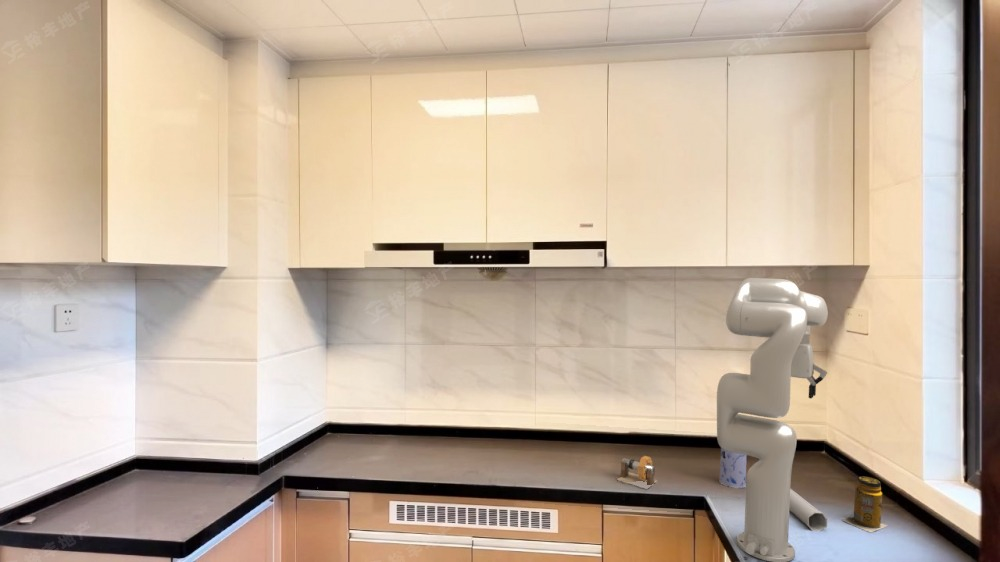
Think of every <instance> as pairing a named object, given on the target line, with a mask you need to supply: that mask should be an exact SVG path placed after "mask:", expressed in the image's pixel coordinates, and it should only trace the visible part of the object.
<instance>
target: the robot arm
mask: <svg viewBox="0 0 1000 562" xmlns="http://www.w3.org/2000/svg"><path fill="white" fill-rule="evenodd" d="M828 315H829V311H828V305H827V303H826V301H825V299H824V297H821V296H819V295H816V294H812V293H809V292H805V291H801V290H800V289H799V287H798V286H797V284H796V283H795V282H793V281H791V280H789V279H785V278H784V279H783V278H769V277H768V278H766V277H763V278H762V277H748V278H745V279H743V280H742V281H741V282H740V283H739V284H738V286H737V288H736V289H735V292H734V293H733V295H732V298H731V301H730V302H729V305H728V307H727V310H726V313H725V324H726V327H727V329H728V330H729V332H731V333H732V334H734V335H738V336H748V337H757V338H767V340H765V341H764V342H763V343H762V344H760V346H758V347H757V348H756V349H755V350H754V352H752V354H751V356H750V359H749V361H750V366H749V367H750V370H749V372H750V373H749V374H747V373H739V372H728V373H724V374H723V375H722V376H721V377H720V379H719V381H718V384H717V391H716V439H717V444H718V445H719V447H720V449H721V448H723V449H724V450H727V451H730V452H734V453H739V454H744V455H747V456H749V457H752V458H756V459H758V461H756V462H755V463H754V464H752V465H751V466H750V468H749V469H748V470H747V471H746V487H745V504H744V505H745V509H744V529H743V530H744V531H743V532H741V533H739V534H738V535H737V536H736V537H737V538H736V543H737V546H738V547H739V548H740V549H741V550H742V551H743V552H744V553H746V554H749V555H750V556H752V557H754V558H756V559H760V560H762V561H767V562H791V561H792V560H794V558H795V557H796V549H795V547H794V546H793V545H792V544H791V542H789V531H790V530H789V527H790V523H789V522H790V510H789V507H790V488H791V483H792V482H791V481H792V479H791V478H792V470H793V462H794V458H795V453H796V448H797V440H798V437H797V433H796V431H795V429H794V428H793V427H792V426H791V425H790V424H787V422H786V423H785V422H783V421H781V420H776V419H777V418H779V419H781V418H784V417H785V416H787V414H788V413H789V410H790V406H791V405H790V404H791V379H792V378H797V379H798V378H799V379H806V380H807V381H808V382H809V383H810V384H809V386H808V398H809V399H813V398H814V397H815V396H816V393H817V391H816V390H817V385H818V384H819V383H820V382H822V381H823V380H824V378H825V377H826V376H827V374H828V372H827V370H825V369H823V368H821V367H819V366H818V365H816V364H814V363H815V361H814V359H815V358H814V351H813V345H812V344H810V341H811V340H810V337H811V327H823V326H824V325H825V324H826V322H827V320H828ZM815 372H817V373H819V375H818V377H817V378H815V377H814V373H815ZM739 413H740V414H739Z"/></svg>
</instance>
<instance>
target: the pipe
mask: <svg viewBox="0 0 1000 562" xmlns="http://www.w3.org/2000/svg"><path fill="white" fill-rule="evenodd" d="M621 461H623V462H625V466H626V467H629V469H630V470H636V471H638V465H639V462H640V461H636V460H635V459H629V458H625V457H623V458H622V460H621ZM654 467H655V466H653V465H652V466H651V465H646V468H645V472H646V473H647V469H651V473H652V474H653V473H654V472H653V471H654Z"/></svg>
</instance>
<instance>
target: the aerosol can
mask: <svg viewBox="0 0 1000 562" xmlns="http://www.w3.org/2000/svg"><path fill="white" fill-rule="evenodd" d="M747 456H748V455H744V454H739V453H734V452H730V451H727V450H724V449H723V448H721V447H720V464H719V465H720V468H719V480H718V482H719V484H721V483H722V484H723V486H724V485H726V486H725V487H727V486H729V487H728V488H731V487H734V488H733V489H739V488H740V489H745V488H746V477H747ZM722 484H721V485H722ZM744 487H745V488H744Z"/></svg>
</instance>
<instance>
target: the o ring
mask: <svg viewBox="0 0 1000 562" xmlns="http://www.w3.org/2000/svg"><path fill="white" fill-rule="evenodd" d="M638 462H639V465H638V470H637V475H638V476H639V478H640V479H642V480H645V481H646V480H647V473H646V472H645V468H646V465H651V466H653V463H654V462H653V460H652V458H651V457H650V456H646V455H643V456H642V457H640V460H639V461H638Z"/></svg>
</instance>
